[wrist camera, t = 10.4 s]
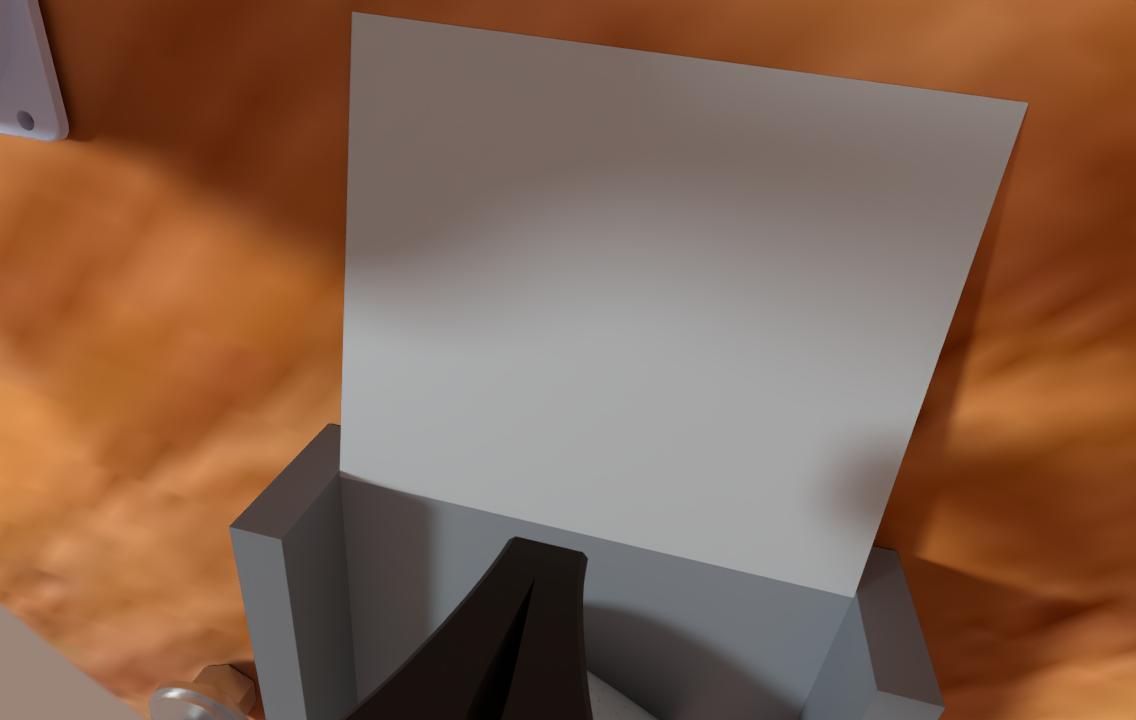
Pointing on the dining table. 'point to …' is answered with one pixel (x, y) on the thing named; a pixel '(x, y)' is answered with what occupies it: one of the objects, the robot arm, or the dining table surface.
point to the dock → (627, 369)
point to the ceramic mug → (612, 703)
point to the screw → (205, 696)
